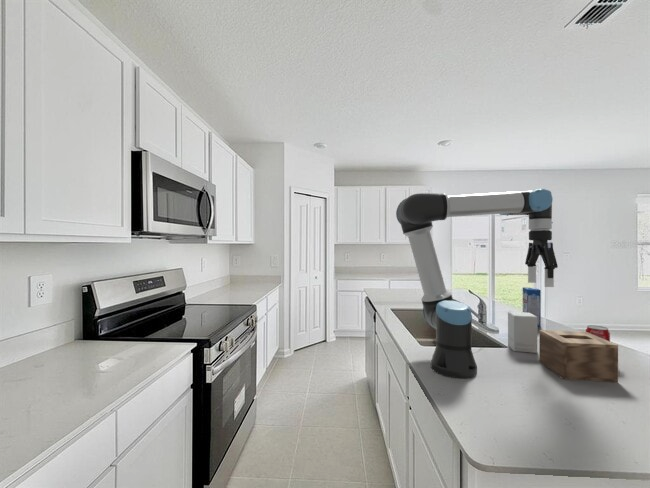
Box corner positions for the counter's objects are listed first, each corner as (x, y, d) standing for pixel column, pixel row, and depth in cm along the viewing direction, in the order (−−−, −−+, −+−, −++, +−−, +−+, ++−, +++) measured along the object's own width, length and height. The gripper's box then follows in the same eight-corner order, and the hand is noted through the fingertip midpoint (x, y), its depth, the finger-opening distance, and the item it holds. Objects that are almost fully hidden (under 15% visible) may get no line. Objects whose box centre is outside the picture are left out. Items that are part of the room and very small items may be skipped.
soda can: (615, 365, 119) (615, 330, 119) (592, 364, 120) (592, 329, 120) (602, 358, 126) (602, 325, 126) (581, 357, 127) (581, 324, 127)
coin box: (563, 378, 107) (563, 342, 107) (539, 361, 123) (539, 329, 123) (618, 382, 104) (618, 345, 104) (586, 364, 120) (586, 331, 120)
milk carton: (522, 322, 185) (522, 287, 185) (535, 323, 183) (535, 287, 183) (527, 326, 175) (527, 289, 175) (540, 327, 173) (540, 290, 173)
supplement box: (538, 353, 132) (538, 316, 132) (513, 351, 134) (513, 315, 134) (530, 346, 141) (530, 312, 141) (507, 345, 143) (507, 311, 143)
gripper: (569, 228, 113) (569, 289, 113) (535, 231, 138) (535, 281, 138) (545, 228, 115) (545, 288, 115) (516, 231, 139) (516, 280, 139)
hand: (540, 284), depth 126 cm, fingers open, 13 cm apart
